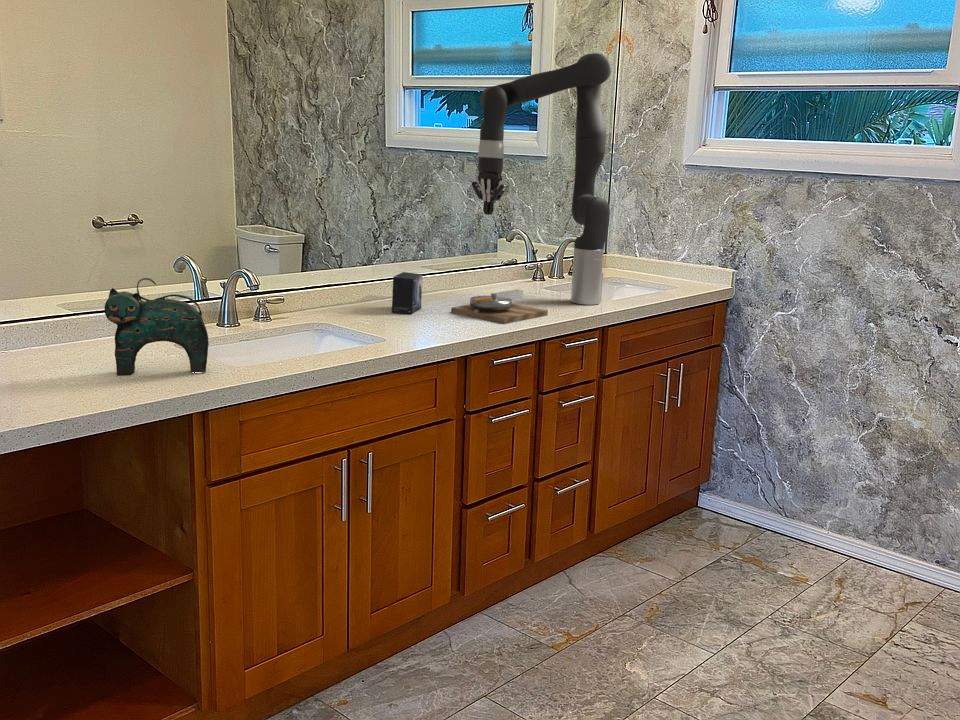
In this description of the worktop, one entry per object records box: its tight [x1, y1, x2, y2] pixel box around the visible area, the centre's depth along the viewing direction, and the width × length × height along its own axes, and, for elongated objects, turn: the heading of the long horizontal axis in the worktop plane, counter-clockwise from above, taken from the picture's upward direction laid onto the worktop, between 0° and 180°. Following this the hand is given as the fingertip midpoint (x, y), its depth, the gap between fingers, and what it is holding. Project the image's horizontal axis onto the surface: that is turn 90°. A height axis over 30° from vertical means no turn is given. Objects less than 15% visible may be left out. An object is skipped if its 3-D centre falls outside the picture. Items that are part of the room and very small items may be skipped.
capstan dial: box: [469, 289, 524, 310], centre depth 277 cm, size 20×12×4 cm, turn 137°
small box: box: [391, 271, 423, 315], centre depth 275 cm, size 11×6×10 cm, turn 168°
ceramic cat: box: [104, 277, 210, 376], centre depth 197 cm, size 20×6×20 cm, turn 103°
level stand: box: [450, 302, 549, 325], centre depth 277 cm, size 20×20×2 cm
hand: (488, 214), depth 289 cm, fingers closed
